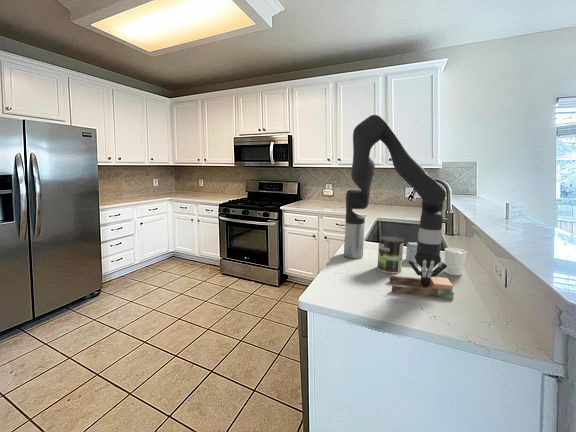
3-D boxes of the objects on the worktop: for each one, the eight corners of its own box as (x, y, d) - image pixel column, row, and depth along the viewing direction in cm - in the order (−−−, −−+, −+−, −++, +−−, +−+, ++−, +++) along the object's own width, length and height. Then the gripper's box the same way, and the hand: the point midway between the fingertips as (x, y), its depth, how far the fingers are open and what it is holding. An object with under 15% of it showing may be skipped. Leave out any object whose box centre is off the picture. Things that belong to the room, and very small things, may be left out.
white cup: (438, 269, 126) (440, 247, 124) (455, 269, 127) (458, 247, 125) (450, 276, 118) (452, 253, 117) (468, 275, 119) (470, 252, 117)
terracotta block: (432, 294, 102) (434, 283, 101) (428, 286, 108) (429, 276, 108) (451, 296, 100) (452, 285, 99) (446, 288, 107) (447, 278, 106)
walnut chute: (391, 292, 104) (392, 285, 103) (389, 281, 113) (389, 275, 113) (453, 299, 99) (454, 292, 98) (445, 286, 108) (446, 280, 108)
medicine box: (422, 259, 139) (423, 242, 138) (425, 262, 135) (427, 245, 133) (405, 259, 140) (406, 242, 138) (408, 262, 135) (409, 244, 134)
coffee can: (388, 275, 120) (390, 242, 117) (372, 267, 129) (373, 236, 126) (407, 271, 124) (409, 240, 121) (390, 264, 133) (392, 234, 130)
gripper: (410, 241, 100) (406, 288, 103) (453, 244, 97) (447, 292, 100) (407, 236, 107) (404, 280, 110) (446, 239, 104) (442, 284, 107)
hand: (424, 286), depth 105 cm, fingers closed
